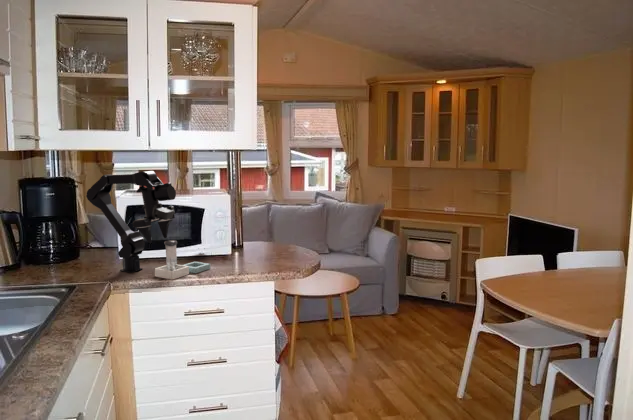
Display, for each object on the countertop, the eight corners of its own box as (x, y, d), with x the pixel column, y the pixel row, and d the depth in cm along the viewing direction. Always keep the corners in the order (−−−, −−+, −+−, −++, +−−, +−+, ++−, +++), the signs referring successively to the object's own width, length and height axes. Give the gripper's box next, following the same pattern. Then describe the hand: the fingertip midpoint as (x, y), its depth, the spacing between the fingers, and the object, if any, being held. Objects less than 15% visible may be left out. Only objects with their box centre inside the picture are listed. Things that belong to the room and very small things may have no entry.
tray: (154, 276, 203) (154, 268, 203) (172, 270, 211) (172, 263, 211) (172, 279, 198) (171, 271, 198) (189, 273, 207) (189, 266, 206)
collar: (180, 270, 212) (180, 265, 211) (194, 266, 219) (194, 261, 219) (195, 273, 208) (195, 268, 207) (210, 268, 215) (210, 263, 215)
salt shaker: (164, 273, 205) (162, 241, 203) (175, 271, 208) (174, 239, 206) (168, 275, 201) (167, 243, 200) (180, 273, 204) (178, 241, 202)
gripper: (151, 204, 193) (158, 244, 195) (182, 197, 210) (188, 234, 212) (128, 206, 198) (135, 246, 200) (160, 199, 215) (166, 235, 217)
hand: (158, 240), depth 207 cm, fingers open, 9 cm apart
